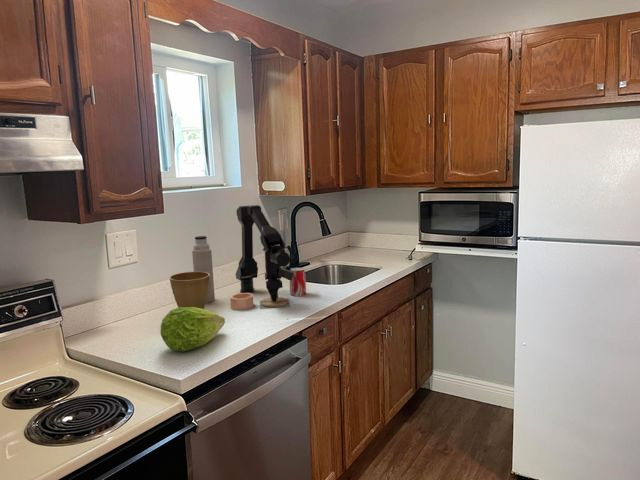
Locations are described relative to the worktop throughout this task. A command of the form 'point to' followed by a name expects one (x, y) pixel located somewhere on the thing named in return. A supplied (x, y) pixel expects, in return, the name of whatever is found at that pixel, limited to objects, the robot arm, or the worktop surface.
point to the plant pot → (190, 288)
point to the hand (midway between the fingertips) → (274, 300)
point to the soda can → (298, 282)
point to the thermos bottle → (204, 263)
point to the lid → (271, 304)
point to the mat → (276, 307)
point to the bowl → (241, 301)
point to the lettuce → (189, 328)
